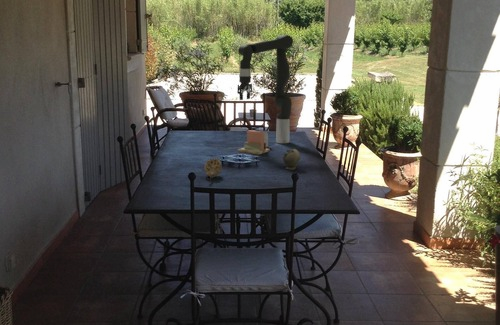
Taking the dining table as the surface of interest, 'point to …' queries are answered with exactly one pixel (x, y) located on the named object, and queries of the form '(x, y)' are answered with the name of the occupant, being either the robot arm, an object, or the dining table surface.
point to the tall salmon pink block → (256, 137)
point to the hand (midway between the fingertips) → (244, 99)
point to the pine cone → (213, 167)
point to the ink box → (265, 137)
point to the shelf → (253, 148)
